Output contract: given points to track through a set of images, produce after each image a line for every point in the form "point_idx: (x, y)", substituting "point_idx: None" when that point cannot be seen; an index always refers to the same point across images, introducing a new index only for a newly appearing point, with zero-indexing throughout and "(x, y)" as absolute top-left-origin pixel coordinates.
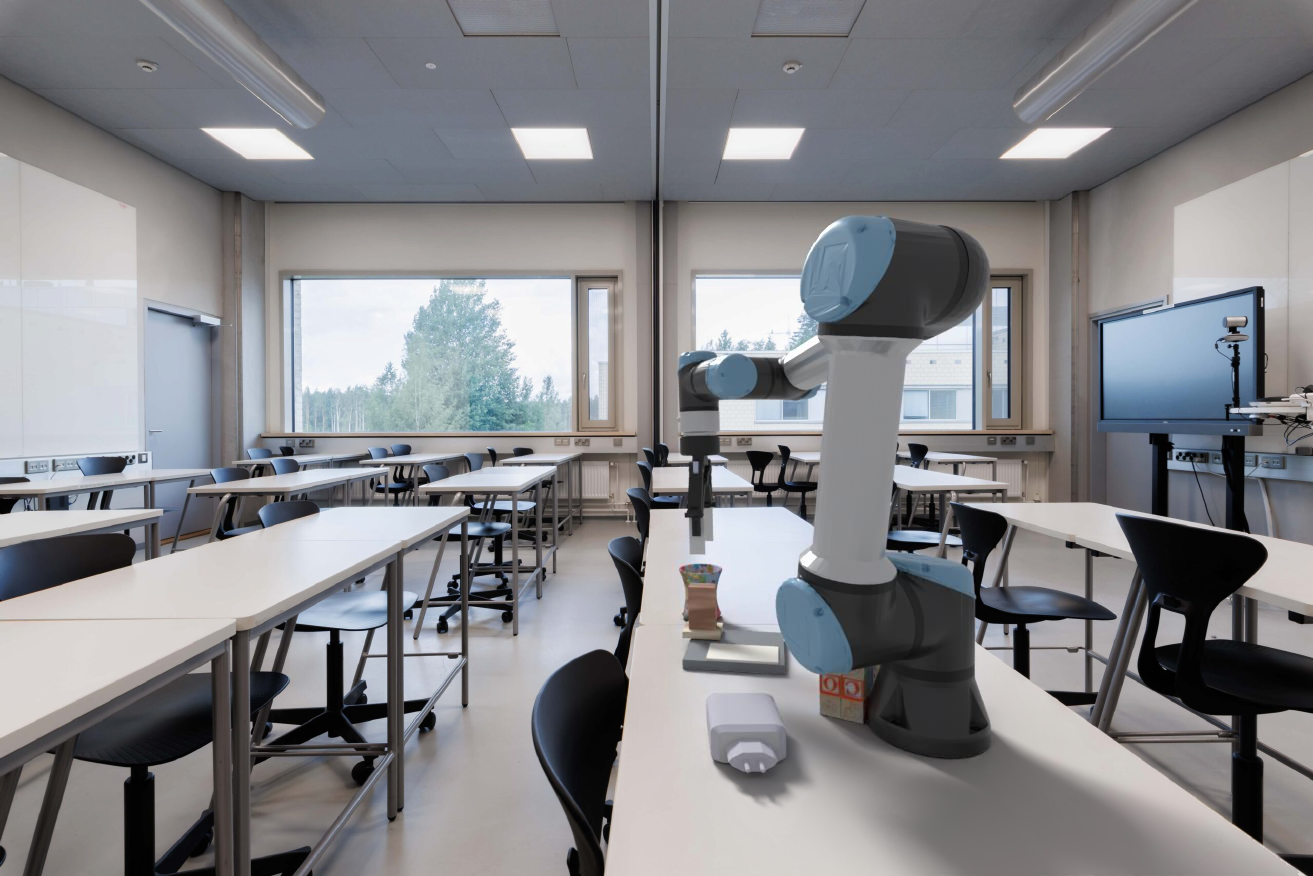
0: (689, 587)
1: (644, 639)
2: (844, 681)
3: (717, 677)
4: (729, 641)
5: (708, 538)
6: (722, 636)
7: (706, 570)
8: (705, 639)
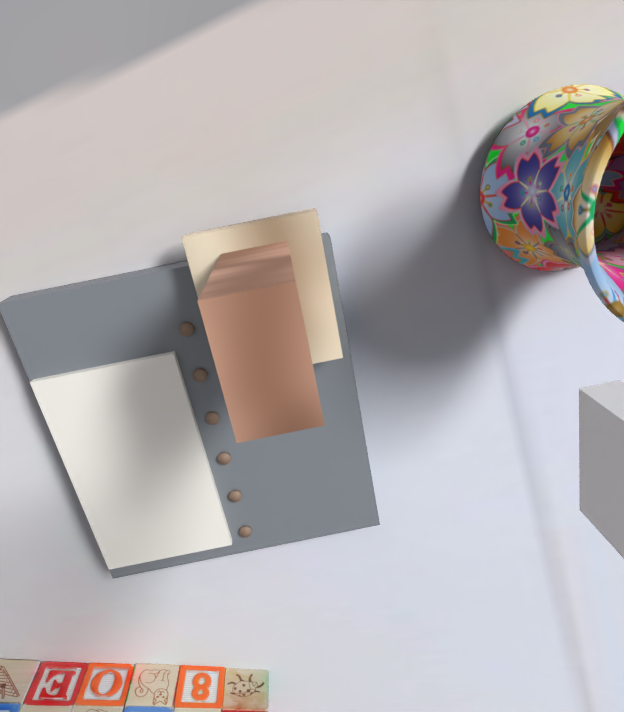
0: (200, 308)
1: (217, 28)
2: None
3: (8, 414)
4: None
5: (594, 488)
6: None
7: None
8: None
